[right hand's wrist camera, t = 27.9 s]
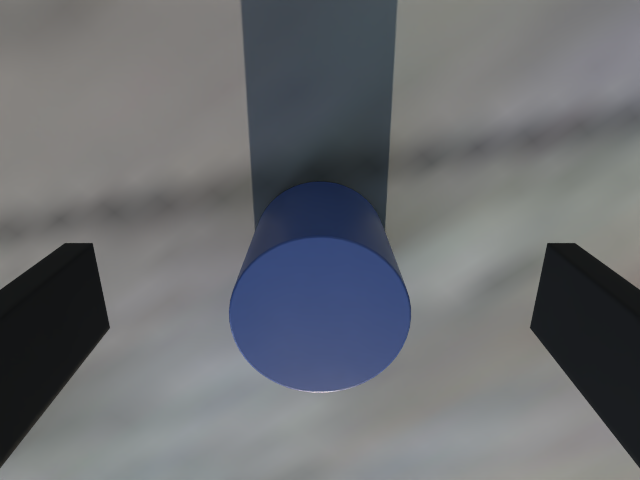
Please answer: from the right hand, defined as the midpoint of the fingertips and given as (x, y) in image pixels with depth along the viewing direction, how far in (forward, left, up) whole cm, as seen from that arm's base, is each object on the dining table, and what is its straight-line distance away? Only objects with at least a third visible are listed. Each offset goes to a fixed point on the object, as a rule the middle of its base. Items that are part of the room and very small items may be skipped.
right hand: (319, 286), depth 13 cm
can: (0, 0, -3) cm, 3 cm away
